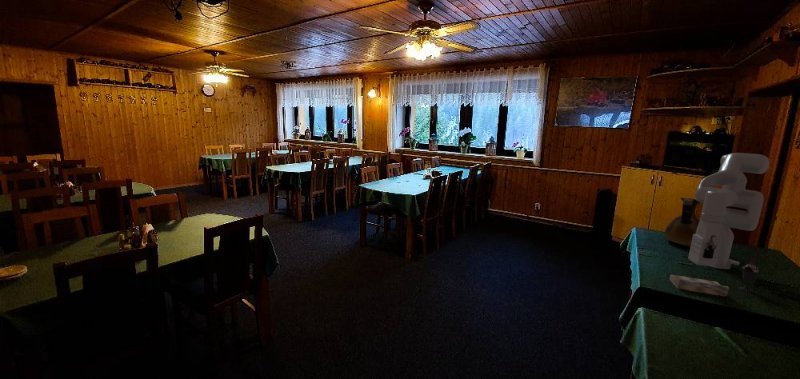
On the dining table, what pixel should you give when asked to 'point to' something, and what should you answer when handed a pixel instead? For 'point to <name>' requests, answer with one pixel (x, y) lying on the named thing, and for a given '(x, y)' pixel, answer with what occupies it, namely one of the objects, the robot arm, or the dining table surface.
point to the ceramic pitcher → (684, 224)
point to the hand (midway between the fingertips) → (703, 254)
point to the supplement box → (702, 252)
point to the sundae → (749, 275)
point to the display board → (699, 285)
